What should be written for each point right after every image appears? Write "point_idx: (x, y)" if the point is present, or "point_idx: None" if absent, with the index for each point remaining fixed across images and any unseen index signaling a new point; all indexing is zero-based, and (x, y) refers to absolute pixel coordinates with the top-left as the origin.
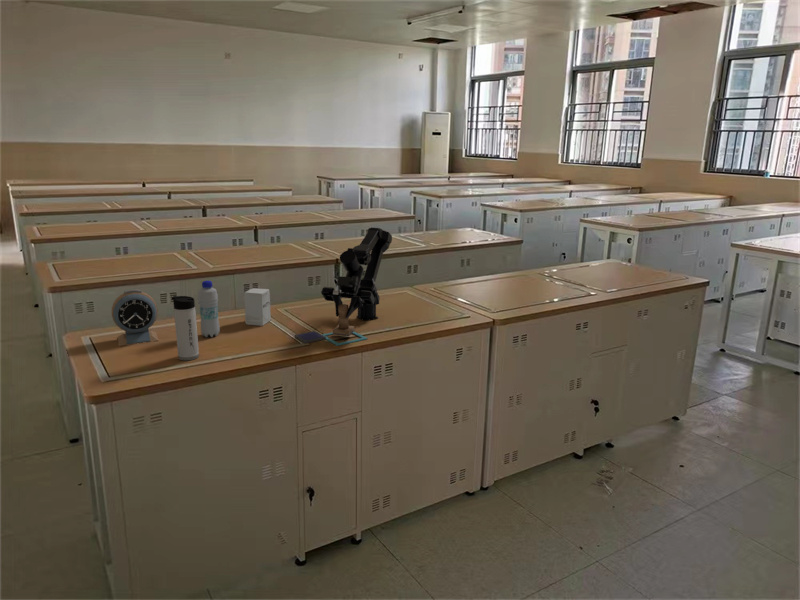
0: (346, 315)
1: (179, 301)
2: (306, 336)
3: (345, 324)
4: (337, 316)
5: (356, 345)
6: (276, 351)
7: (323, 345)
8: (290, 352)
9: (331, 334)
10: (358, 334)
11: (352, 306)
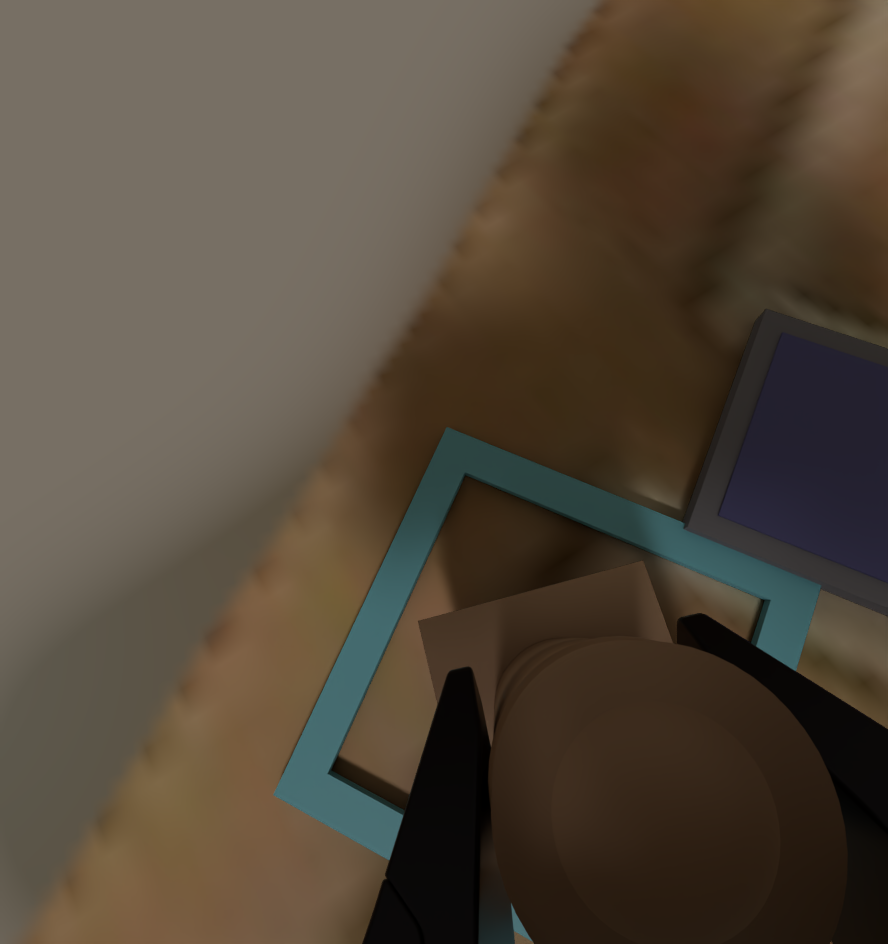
0: (468, 673)
1: None
2: (872, 414)
3: (505, 674)
4: None
5: (291, 546)
6: (802, 62)
7: (570, 372)
8: (689, 105)
9: None
10: None
11: (367, 941)
